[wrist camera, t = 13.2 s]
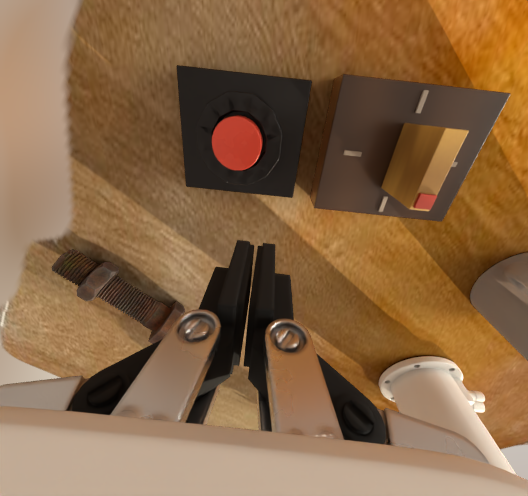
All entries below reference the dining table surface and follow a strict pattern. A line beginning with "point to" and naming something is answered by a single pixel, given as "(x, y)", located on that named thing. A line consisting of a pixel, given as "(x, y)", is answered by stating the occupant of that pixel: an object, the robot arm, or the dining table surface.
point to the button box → (253, 107)
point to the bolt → (116, 292)
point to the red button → (237, 142)
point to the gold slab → (421, 164)
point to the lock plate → (393, 140)
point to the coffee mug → (505, 299)
